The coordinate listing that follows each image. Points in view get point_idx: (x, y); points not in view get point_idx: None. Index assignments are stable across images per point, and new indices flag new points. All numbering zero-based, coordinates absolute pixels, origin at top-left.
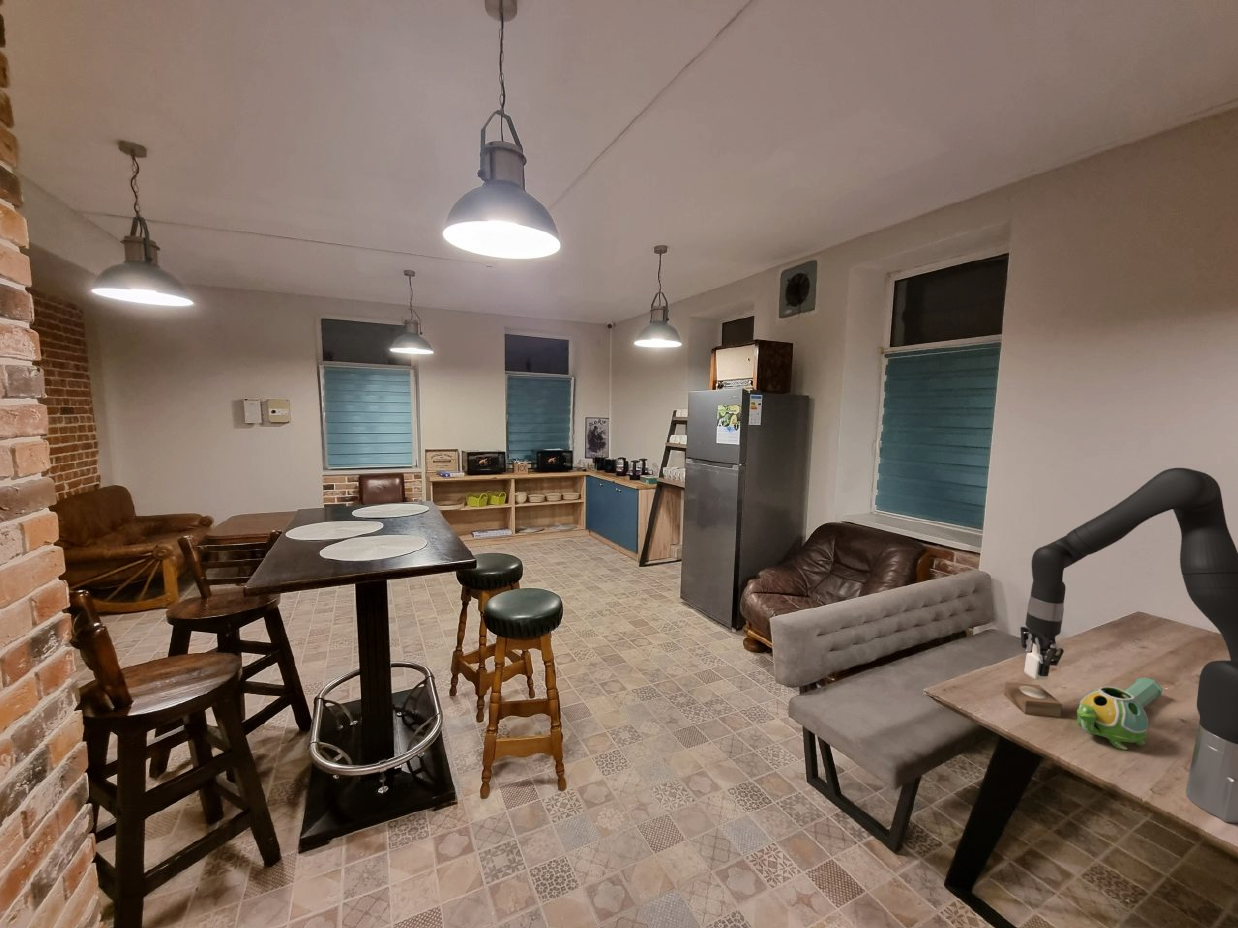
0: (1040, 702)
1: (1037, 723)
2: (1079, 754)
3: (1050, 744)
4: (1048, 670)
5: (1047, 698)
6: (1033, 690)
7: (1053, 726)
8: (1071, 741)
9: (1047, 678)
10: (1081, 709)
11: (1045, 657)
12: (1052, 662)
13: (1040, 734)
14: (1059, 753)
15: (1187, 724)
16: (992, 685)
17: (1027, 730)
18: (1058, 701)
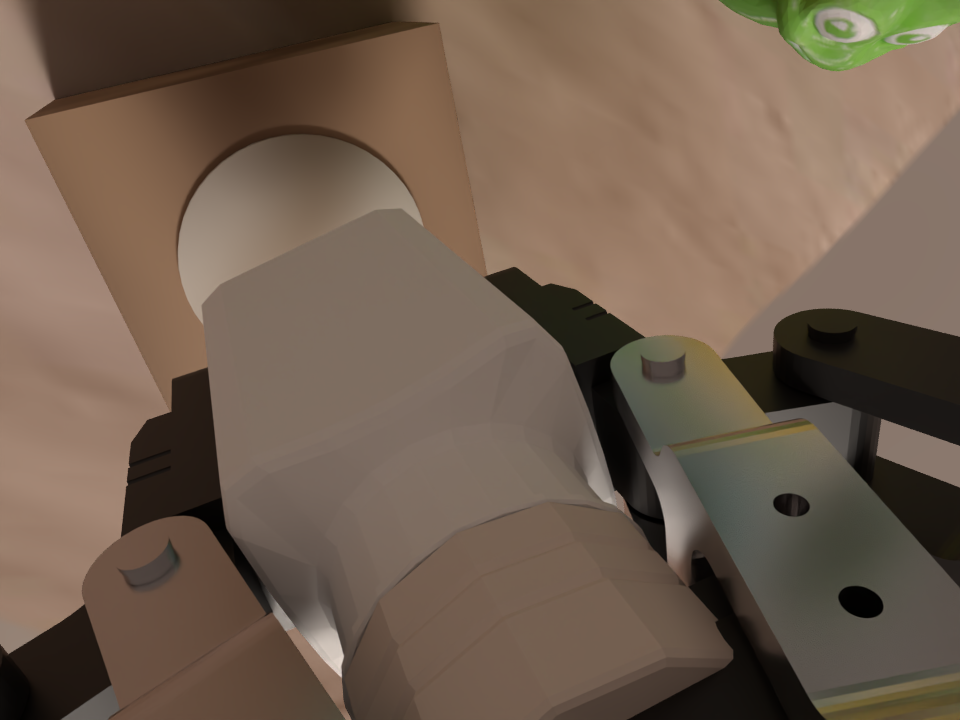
0: (476, 237)
1: (556, 252)
2: (819, 112)
3: (754, 248)
4: (609, 322)
5: (377, 143)
6: (264, 243)
7: (562, 149)
8: (709, 97)
9: (400, 209)
10: (878, 40)
11: (550, 448)
12: (877, 418)
13: (674, 273)
14: (819, 228)
15: None
16: (41, 459)
17: (650, 335)
18: (398, 40)
